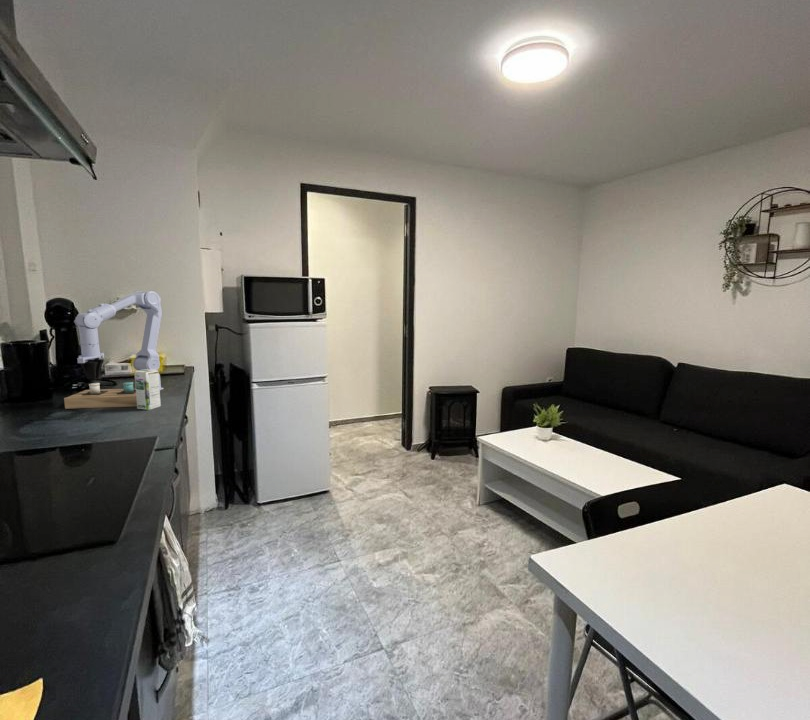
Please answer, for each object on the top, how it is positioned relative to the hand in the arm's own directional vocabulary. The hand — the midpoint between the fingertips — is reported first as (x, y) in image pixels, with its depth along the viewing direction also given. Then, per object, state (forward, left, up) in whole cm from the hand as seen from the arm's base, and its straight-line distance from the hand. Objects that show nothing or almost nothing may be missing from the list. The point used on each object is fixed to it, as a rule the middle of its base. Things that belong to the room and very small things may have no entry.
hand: (93, 378), depth 160 cm
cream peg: (0, 0, -6) cm, 6 cm away
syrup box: (+10, +23, -10) cm, 27 cm away
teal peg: (0, +12, -6) cm, 14 cm away
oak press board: (0, +6, -10) cm, 12 cm away
